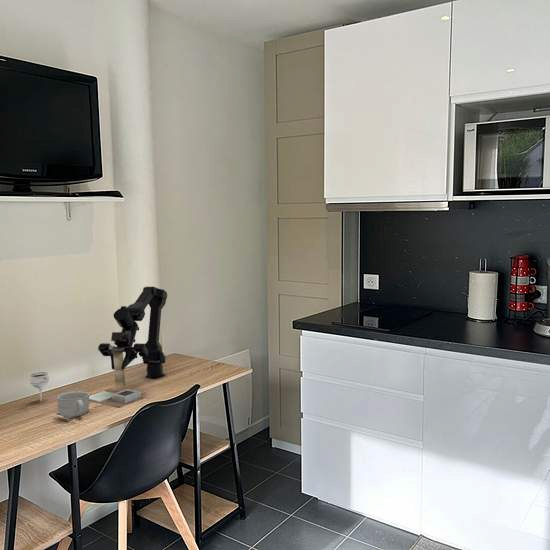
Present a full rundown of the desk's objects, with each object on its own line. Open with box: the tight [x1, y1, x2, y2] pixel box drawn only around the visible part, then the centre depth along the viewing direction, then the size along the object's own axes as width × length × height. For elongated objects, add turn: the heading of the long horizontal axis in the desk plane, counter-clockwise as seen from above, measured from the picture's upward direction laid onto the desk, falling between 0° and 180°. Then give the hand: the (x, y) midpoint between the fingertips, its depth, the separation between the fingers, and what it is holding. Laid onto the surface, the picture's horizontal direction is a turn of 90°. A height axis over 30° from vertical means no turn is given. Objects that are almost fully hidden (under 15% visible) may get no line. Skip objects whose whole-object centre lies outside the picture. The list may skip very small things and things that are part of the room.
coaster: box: [89, 390, 114, 404], centre depth 214 cm, size 9×9×1 cm
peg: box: [111, 346, 126, 387], centre depth 210 cm, size 5×5×14 cm
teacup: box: [56, 391, 90, 420], centre depth 196 cm, size 14×11×8 cm
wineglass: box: [29, 371, 50, 403], centre depth 211 cm, size 7×7×12 cm
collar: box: [111, 388, 142, 404], centre depth 211 cm, size 8×8×2 cm
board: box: [89, 388, 146, 409], centre depth 213 cm, size 13×22×1 cm, turn 56°
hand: (117, 369), depth 208 cm, fingers closed on peg, 4 cm apart
